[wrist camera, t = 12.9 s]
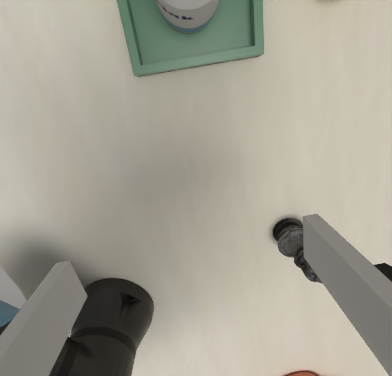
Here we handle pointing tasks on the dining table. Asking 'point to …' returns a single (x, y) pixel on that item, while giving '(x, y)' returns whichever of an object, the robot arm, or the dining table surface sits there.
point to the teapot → (302, 374)
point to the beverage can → (188, 13)
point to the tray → (191, 36)
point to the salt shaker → (293, 244)
